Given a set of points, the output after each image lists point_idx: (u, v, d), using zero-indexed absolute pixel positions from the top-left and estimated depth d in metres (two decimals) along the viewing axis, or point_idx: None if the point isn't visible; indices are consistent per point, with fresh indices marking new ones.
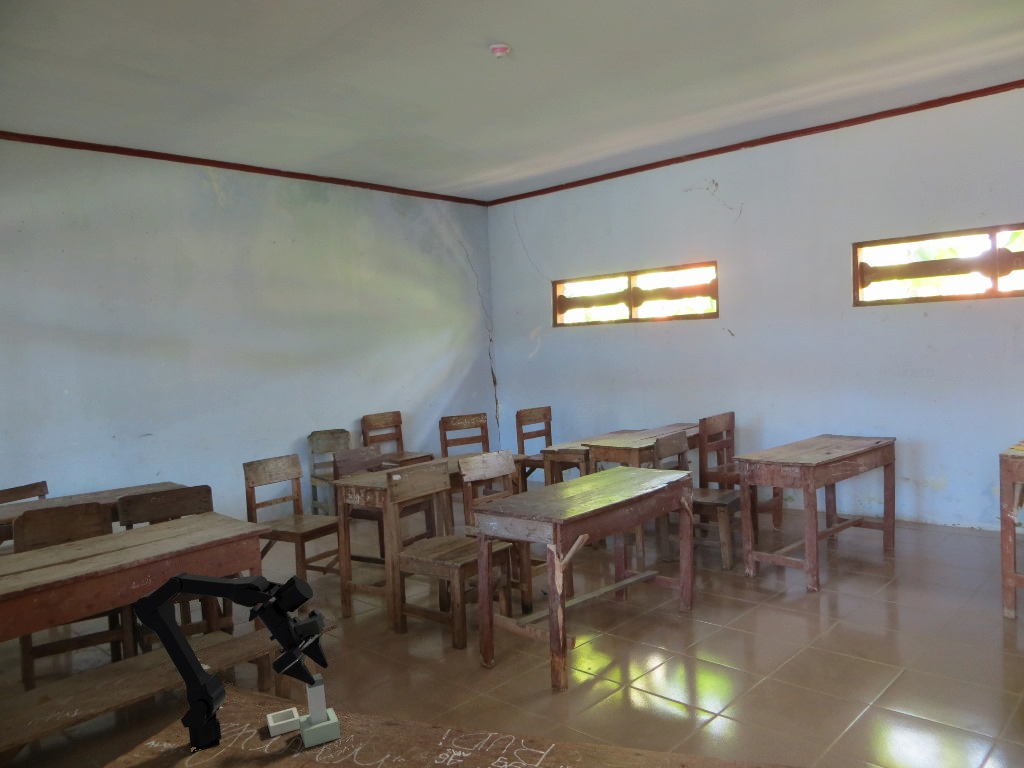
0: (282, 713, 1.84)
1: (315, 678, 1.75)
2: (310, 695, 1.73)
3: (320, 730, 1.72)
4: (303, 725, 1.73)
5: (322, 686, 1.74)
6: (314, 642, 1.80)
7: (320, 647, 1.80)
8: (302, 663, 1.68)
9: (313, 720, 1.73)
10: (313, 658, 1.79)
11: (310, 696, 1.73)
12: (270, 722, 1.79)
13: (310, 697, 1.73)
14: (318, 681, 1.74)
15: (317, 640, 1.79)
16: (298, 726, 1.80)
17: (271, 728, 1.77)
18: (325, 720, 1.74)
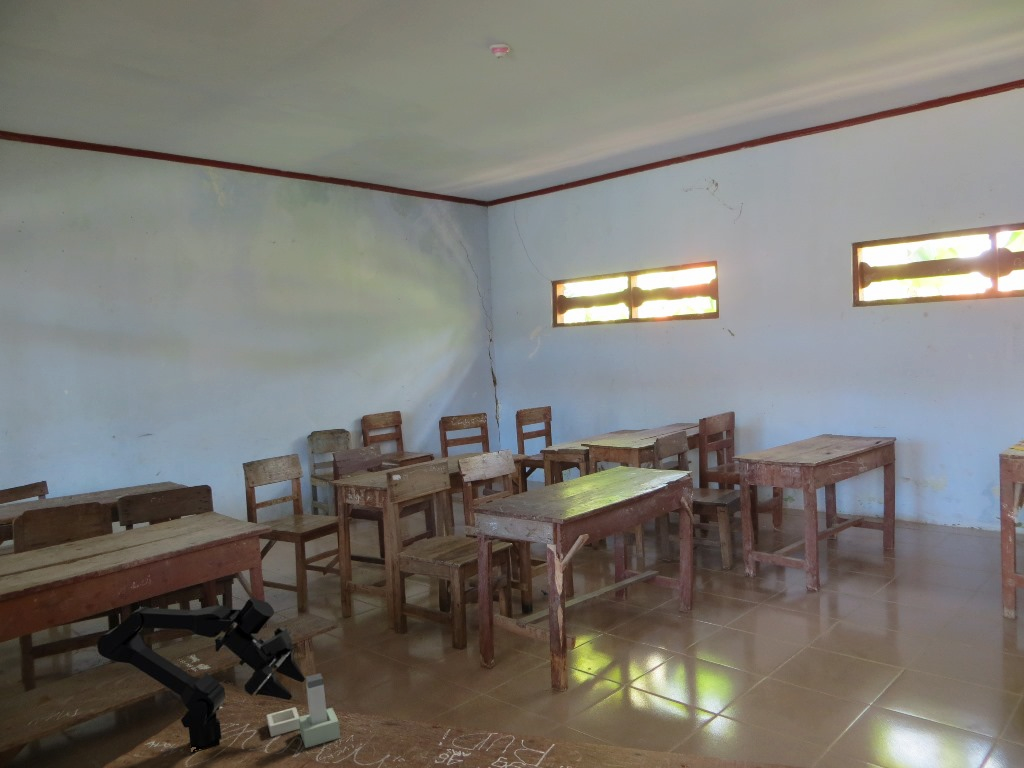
0: (282, 713, 1.84)
1: (315, 678, 1.75)
2: (310, 695, 1.73)
3: (320, 730, 1.72)
4: (303, 725, 1.73)
5: (322, 686, 1.74)
6: (286, 659, 1.81)
7: (293, 663, 1.81)
8: (274, 680, 1.69)
9: (313, 720, 1.73)
10: (289, 675, 1.80)
11: (310, 696, 1.73)
12: (270, 722, 1.79)
13: (310, 697, 1.73)
14: (318, 681, 1.74)
15: (289, 656, 1.81)
16: (298, 726, 1.80)
17: (271, 728, 1.77)
18: (325, 720, 1.74)
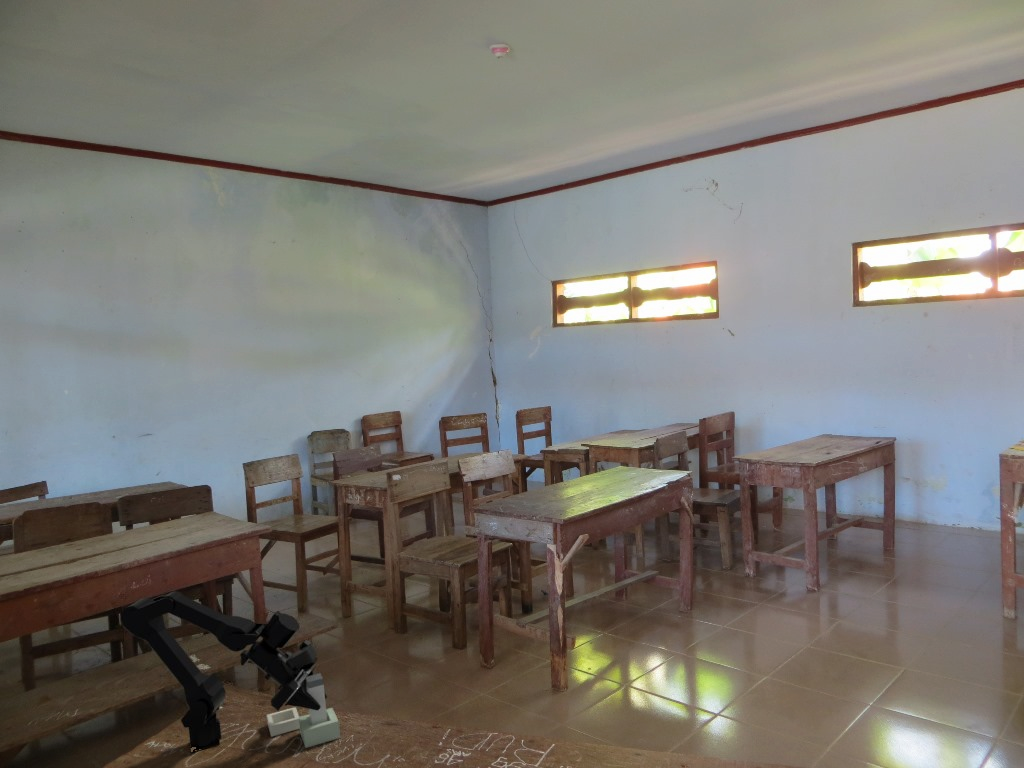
0: (282, 713, 1.84)
1: (315, 678, 1.75)
2: None
3: (320, 730, 1.72)
4: (303, 725, 1.73)
5: (322, 686, 1.74)
6: None
7: None
8: (303, 690, 1.71)
9: (313, 720, 1.73)
10: None
11: None
12: (270, 722, 1.79)
13: None
14: (318, 681, 1.74)
15: (311, 674, 1.78)
16: (298, 726, 1.80)
17: (271, 728, 1.77)
18: (325, 720, 1.74)
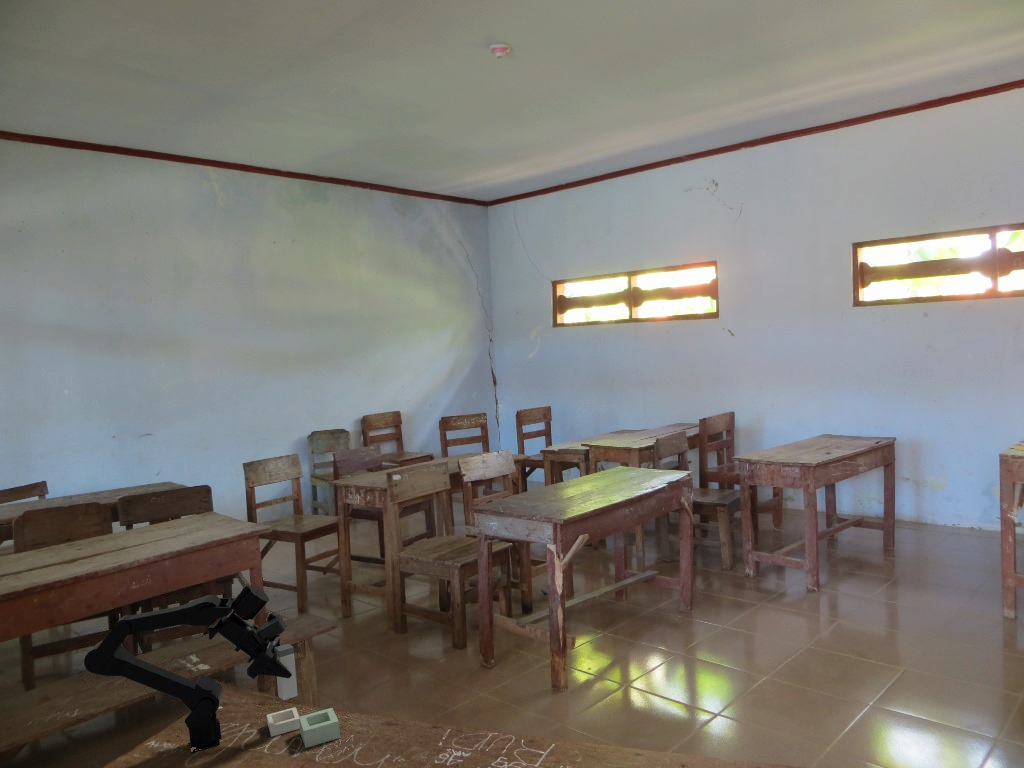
0: (282, 713, 1.84)
1: (285, 647, 1.80)
2: None
3: (320, 730, 1.72)
4: (303, 725, 1.73)
5: (293, 655, 1.80)
6: None
7: None
8: (276, 659, 1.76)
9: (284, 688, 1.78)
10: None
11: None
12: (270, 722, 1.79)
13: None
14: (289, 650, 1.79)
15: (278, 645, 1.83)
16: (298, 726, 1.80)
17: (271, 728, 1.77)
18: (295, 688, 1.80)
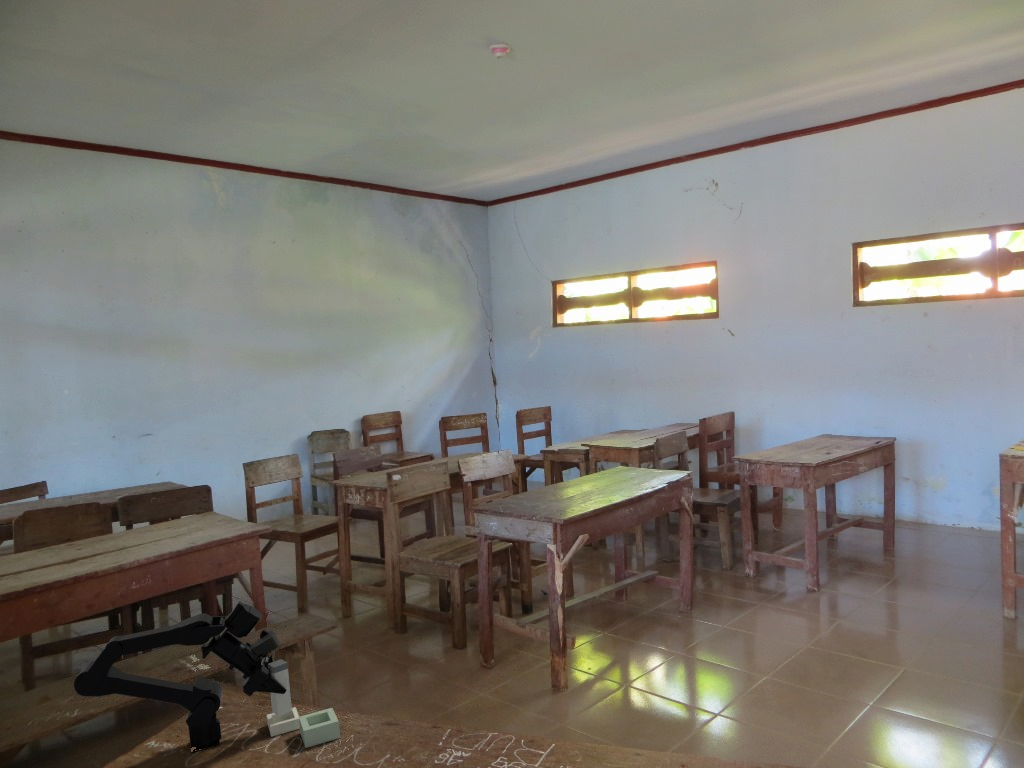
0: None
1: (279, 663, 1.81)
2: None
3: (320, 730, 1.72)
4: (303, 725, 1.73)
5: (286, 670, 1.81)
6: None
7: None
8: (271, 675, 1.77)
9: (278, 704, 1.79)
10: None
11: None
12: (270, 722, 1.79)
13: None
14: (283, 665, 1.80)
15: (271, 661, 1.84)
16: (298, 726, 1.80)
17: (271, 728, 1.77)
18: (289, 703, 1.81)
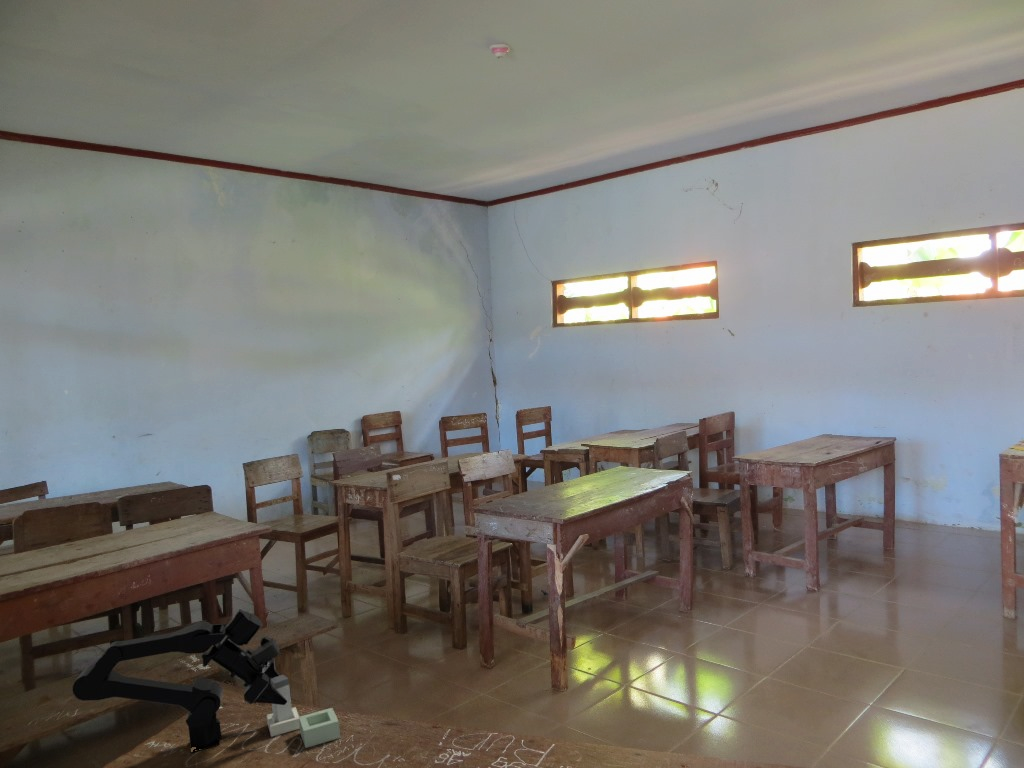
0: None
1: (280, 679, 1.81)
2: None
3: (320, 730, 1.72)
4: (303, 725, 1.73)
5: (288, 686, 1.81)
6: (269, 668, 1.86)
7: (276, 671, 1.86)
8: (271, 686, 1.75)
9: (280, 720, 1.79)
10: None
11: None
12: (270, 722, 1.79)
13: None
14: (284, 681, 1.81)
15: (272, 665, 1.86)
16: (298, 726, 1.80)
17: (271, 728, 1.77)
18: None
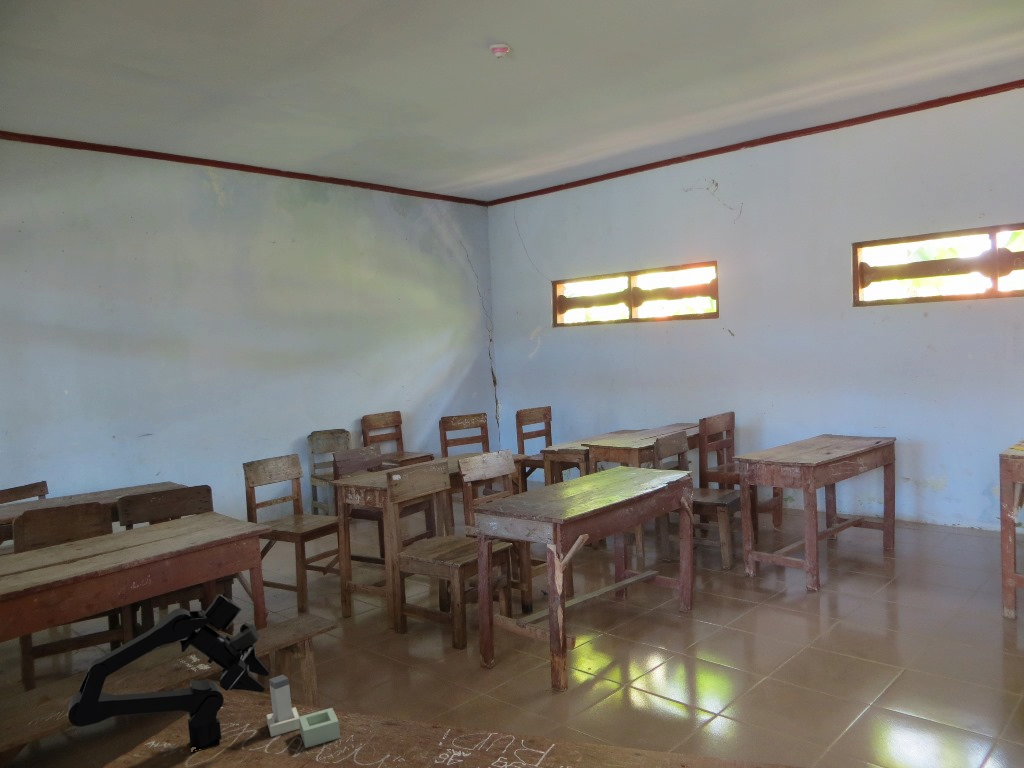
0: None
1: (280, 679, 1.81)
2: (277, 696, 1.79)
3: (320, 730, 1.72)
4: (303, 725, 1.73)
5: (288, 686, 1.81)
6: (250, 655, 1.85)
7: (257, 658, 1.85)
8: (248, 673, 1.74)
9: (280, 720, 1.79)
10: (252, 670, 1.84)
11: (277, 697, 1.79)
12: (270, 722, 1.79)
13: (277, 698, 1.79)
14: (284, 681, 1.81)
15: (252, 652, 1.85)
16: (298, 726, 1.80)
17: (271, 728, 1.77)
18: None
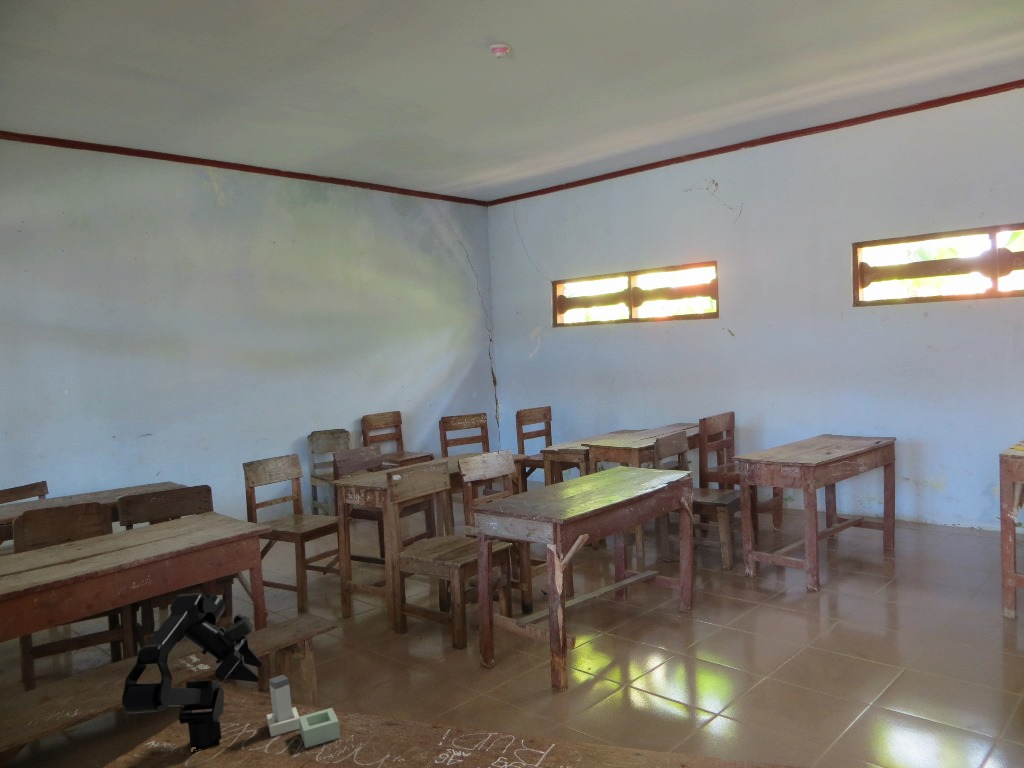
0: None
1: (280, 679, 1.81)
2: (277, 696, 1.79)
3: (320, 730, 1.72)
4: (303, 725, 1.73)
5: (288, 686, 1.81)
6: (243, 646, 1.86)
7: (250, 649, 1.87)
8: (243, 663, 1.75)
9: (280, 720, 1.79)
10: (245, 661, 1.86)
11: (277, 697, 1.79)
12: (270, 722, 1.79)
13: (277, 698, 1.79)
14: (284, 681, 1.81)
15: (246, 643, 1.86)
16: (298, 726, 1.80)
17: (271, 728, 1.77)
18: None
